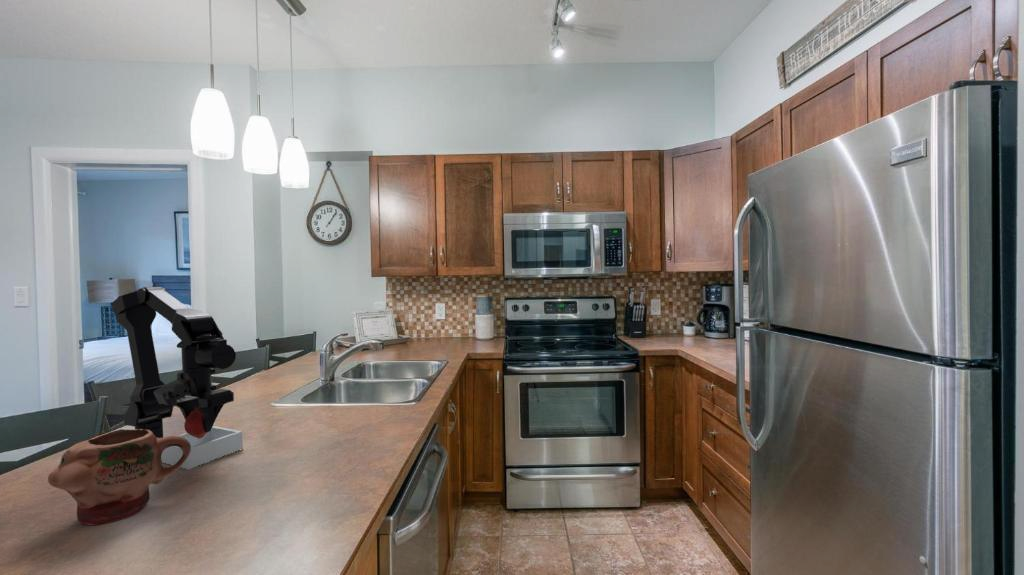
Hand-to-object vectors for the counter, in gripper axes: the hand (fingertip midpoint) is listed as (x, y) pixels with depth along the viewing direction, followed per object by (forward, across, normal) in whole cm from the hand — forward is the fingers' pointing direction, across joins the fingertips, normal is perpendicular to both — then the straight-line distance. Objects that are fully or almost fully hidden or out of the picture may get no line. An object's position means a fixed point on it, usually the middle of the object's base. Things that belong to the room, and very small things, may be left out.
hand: (199, 430), depth 108 cm
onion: (+2, 0, 0) cm, 2 cm away
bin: (+6, 0, 0) cm, 6 cm away
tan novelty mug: (+6, +14, -21) cm, 26 cm away
